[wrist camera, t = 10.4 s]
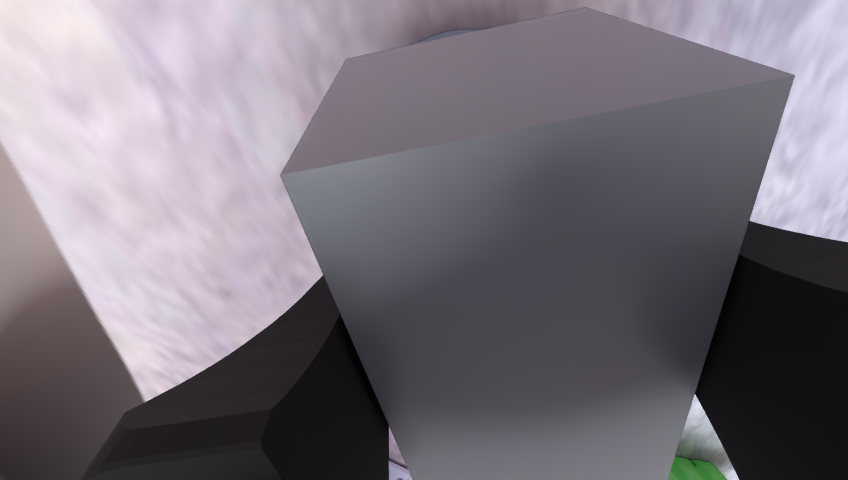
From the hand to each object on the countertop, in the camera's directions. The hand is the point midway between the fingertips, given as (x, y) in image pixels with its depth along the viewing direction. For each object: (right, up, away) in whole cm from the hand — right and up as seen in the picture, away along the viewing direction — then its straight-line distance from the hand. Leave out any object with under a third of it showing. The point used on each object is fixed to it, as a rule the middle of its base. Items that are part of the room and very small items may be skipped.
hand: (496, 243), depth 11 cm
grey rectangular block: (0, +1, +2) cm, 2 cm away
